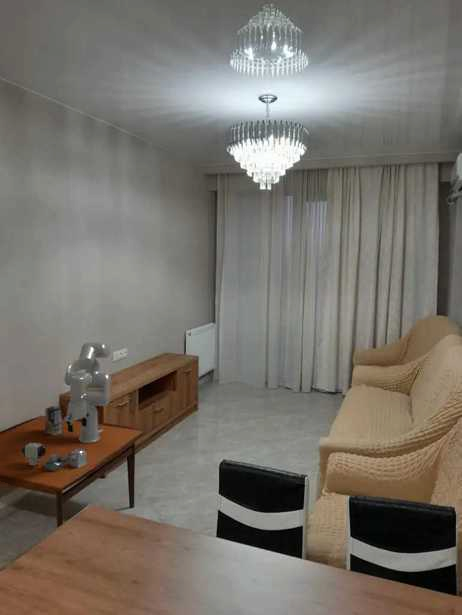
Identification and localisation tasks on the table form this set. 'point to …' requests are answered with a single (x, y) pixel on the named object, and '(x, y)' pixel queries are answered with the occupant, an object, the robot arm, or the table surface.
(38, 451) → the pneumatic valve
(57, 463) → the ratchet
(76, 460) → the domed grey cube
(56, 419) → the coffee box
